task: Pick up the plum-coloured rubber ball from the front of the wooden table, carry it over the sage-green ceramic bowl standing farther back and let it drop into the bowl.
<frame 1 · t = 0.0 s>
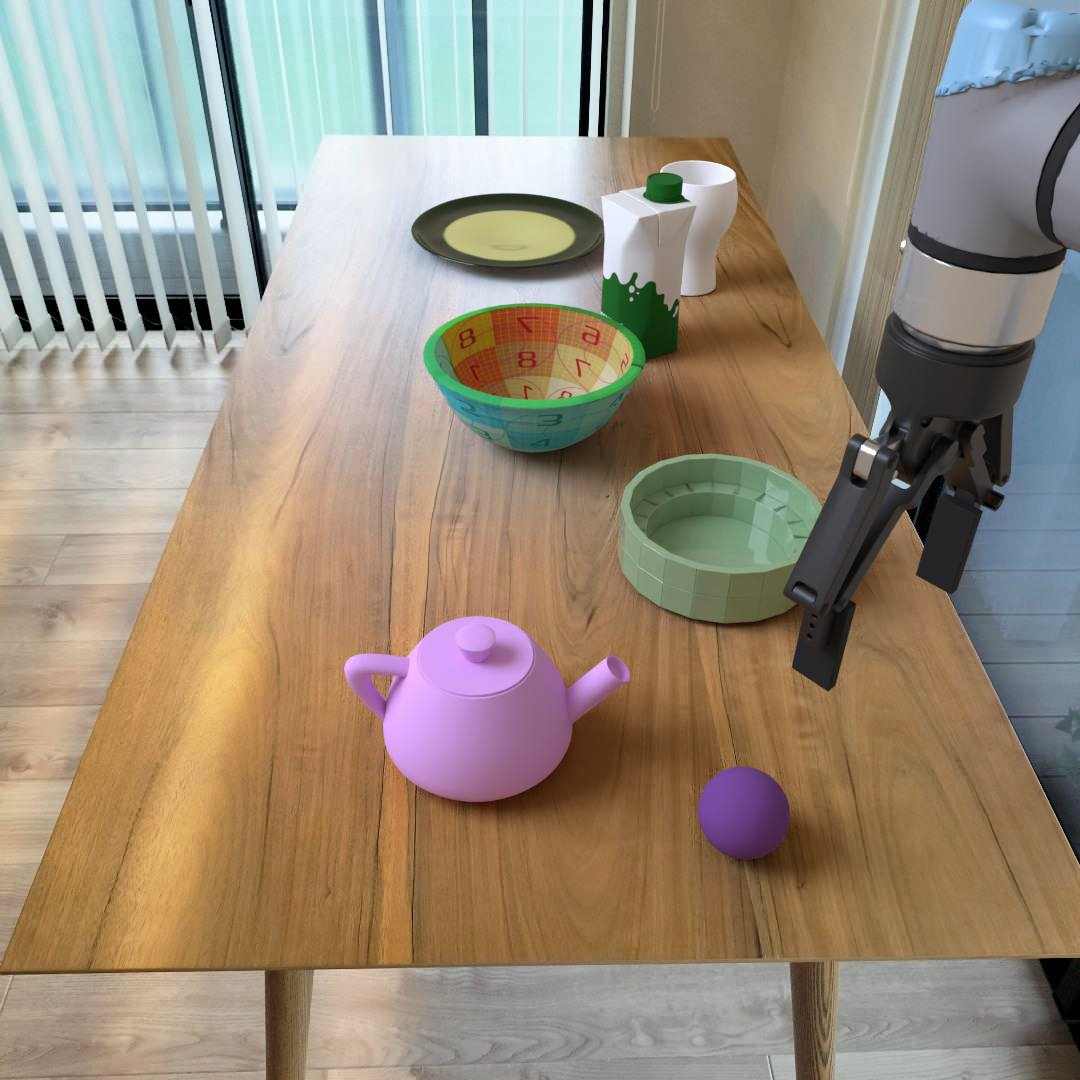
hand: (877, 627, 69), 15 cm above the table, tool pointing down, fingers open, 13 cm apart
plate: (510, 244, 156), on the table
cup: (686, 285, 145), on the table
milk carton: (636, 347, 131), on the table
ball: (738, 840, 73), on the table
teapot: (489, 742, 80), on the table
green bowl: (714, 562, 98), on the table
bowl: (533, 436, 115), on the table
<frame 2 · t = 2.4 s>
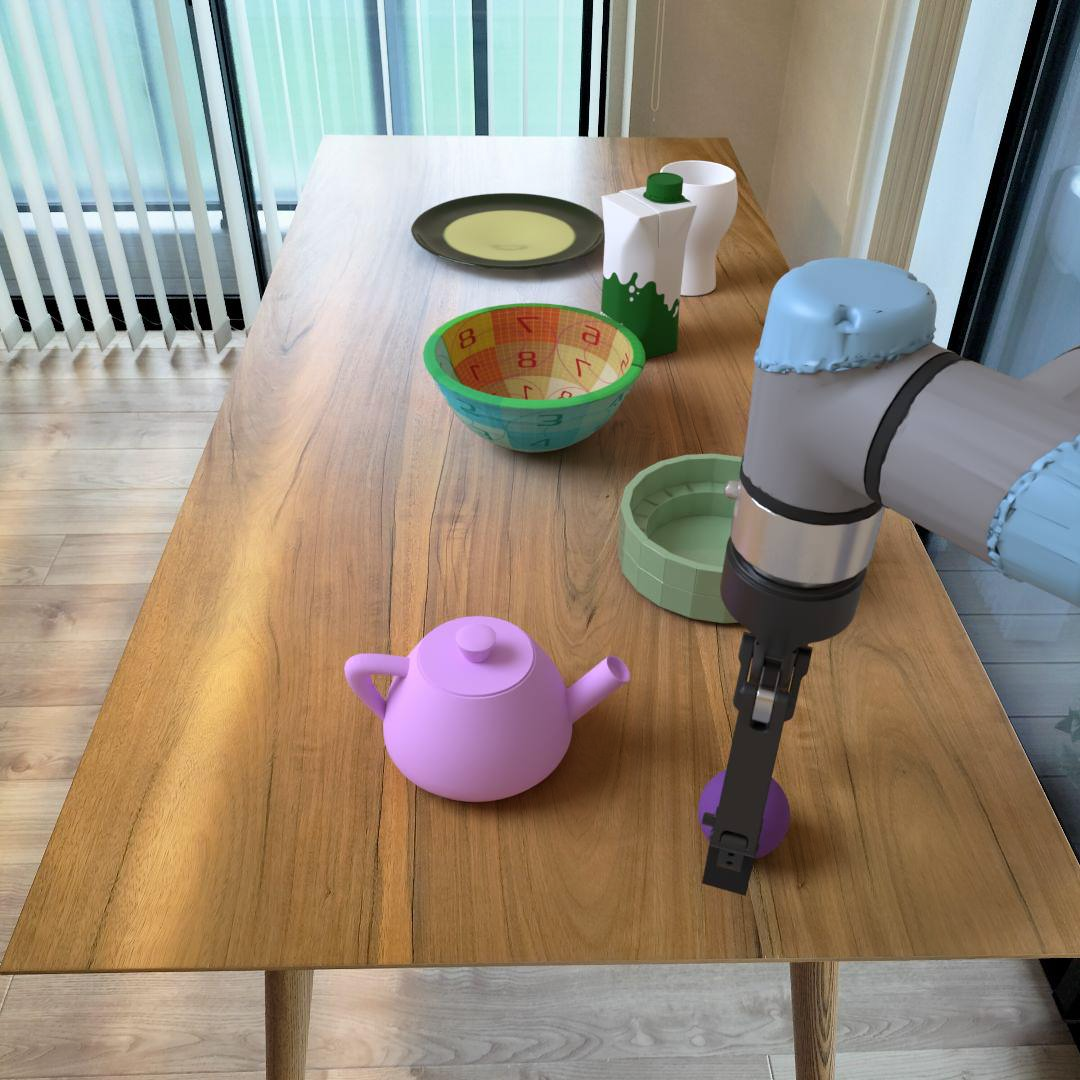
hand: (743, 800, 71), 4 cm above the table, tool pointing down, fingers open, 13 cm apart
nothing on the table moved.
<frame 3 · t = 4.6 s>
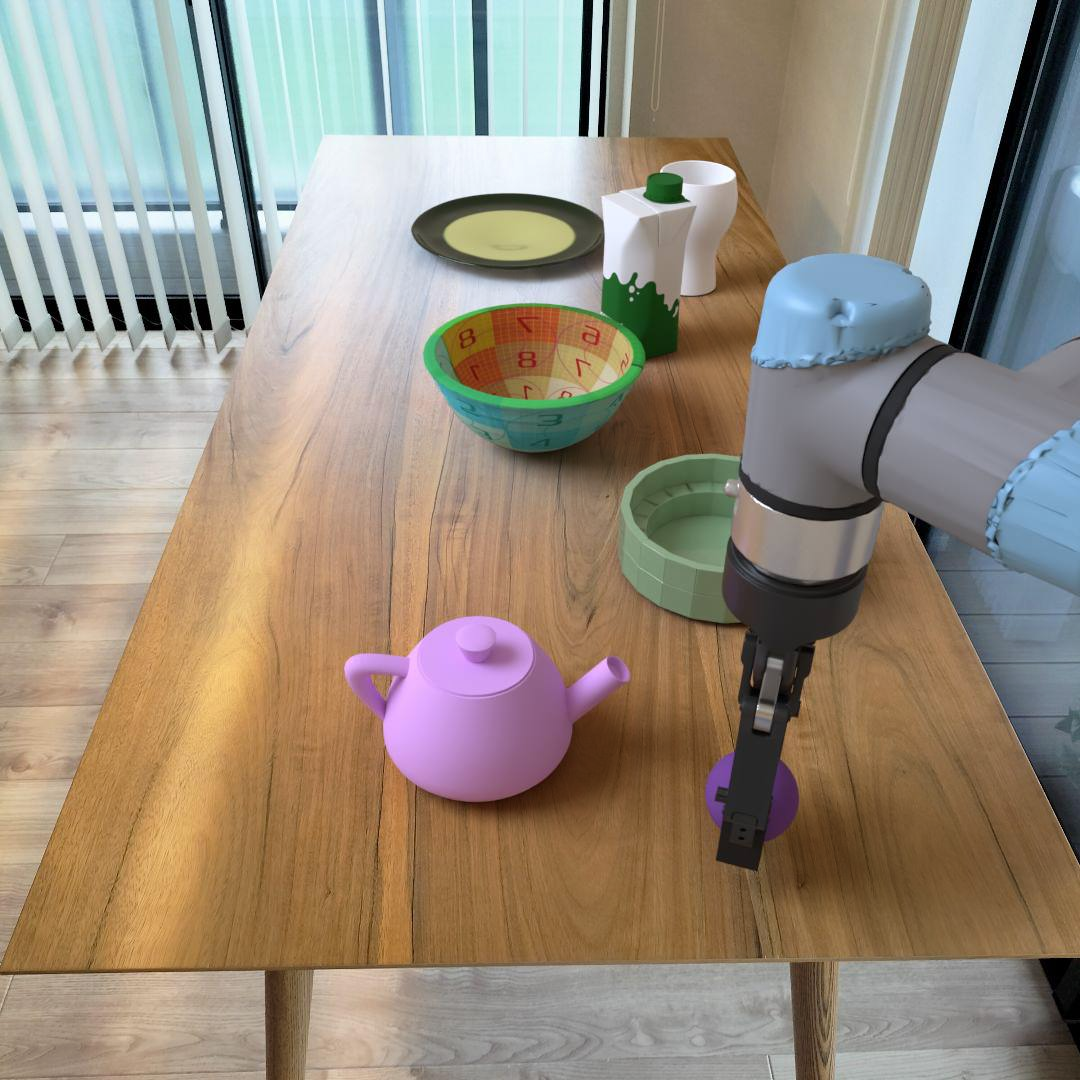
hand: (746, 821, 72), 2 cm above the table, tool pointing down, fingers closed on ball, 6 cm apart
ball: (746, 824, 72), point 2 cm above the table, touching gripper
everything else where it was.
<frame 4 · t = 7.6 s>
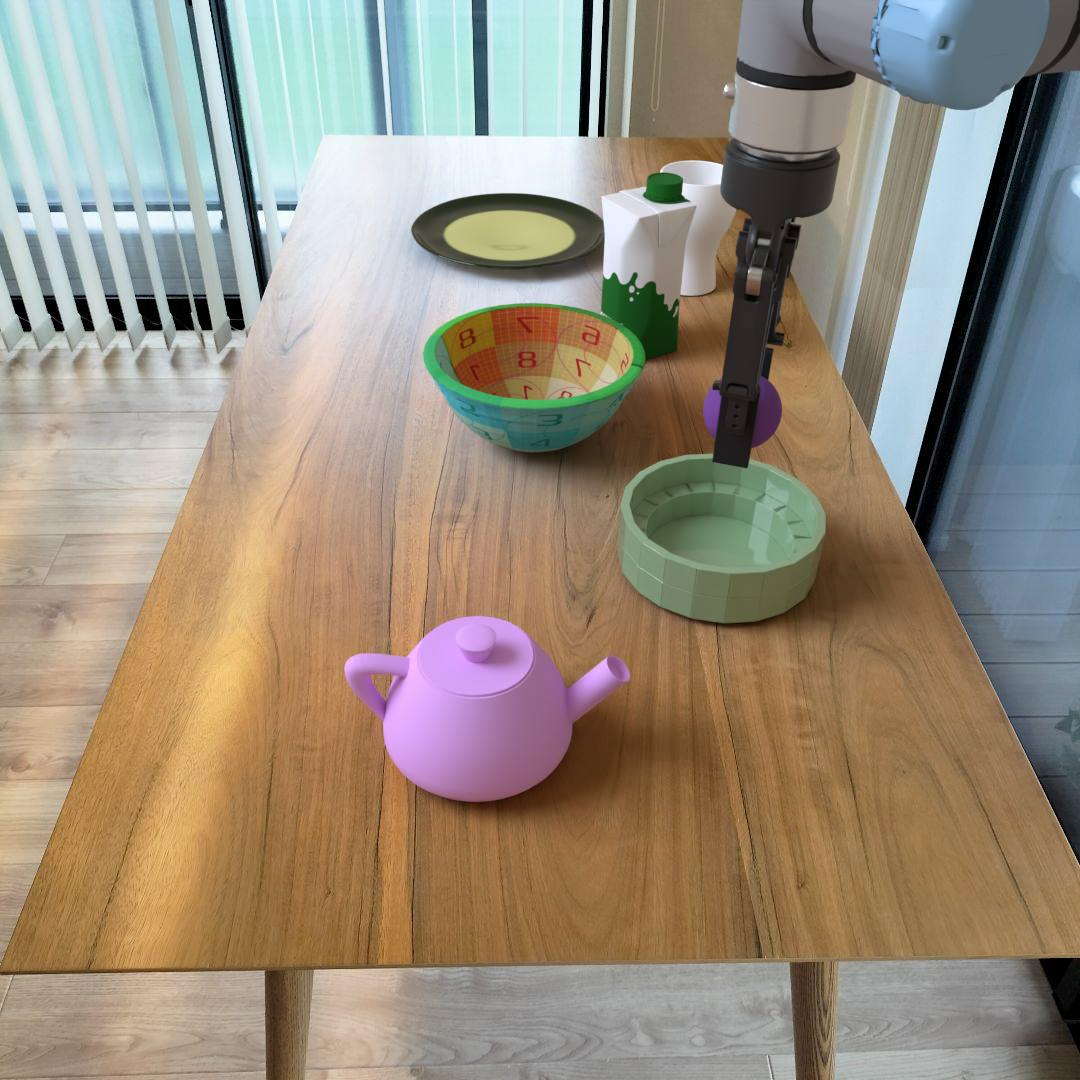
hand: (737, 440, 85), 15 cm above the table, tool pointing down, fingers closed on ball, 6 cm apart
ball: (737, 443, 85), point 15 cm above the table, touching gripper
everything else where it was.
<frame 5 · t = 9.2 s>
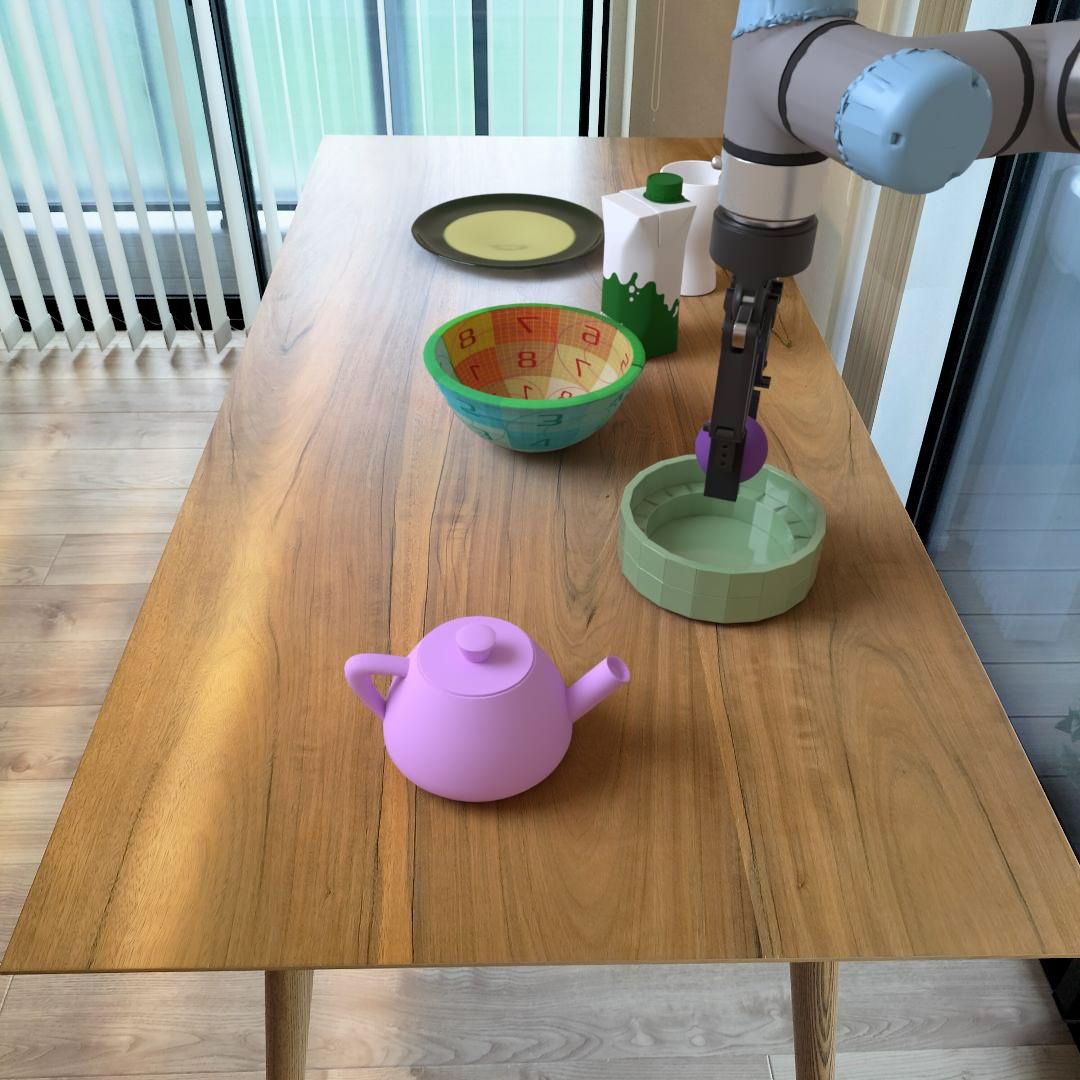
hand: (727, 475, 92), 10 cm above the table, tool pointing down, fingers closed on ball, 6 cm apart
ball: (727, 477, 92), point 9 cm above the table, touching gripper
everything else where it was.
when the fingers open (6 cm above the table, at t = 10.6 s): ball drops 5 cm, resting on green bowl.
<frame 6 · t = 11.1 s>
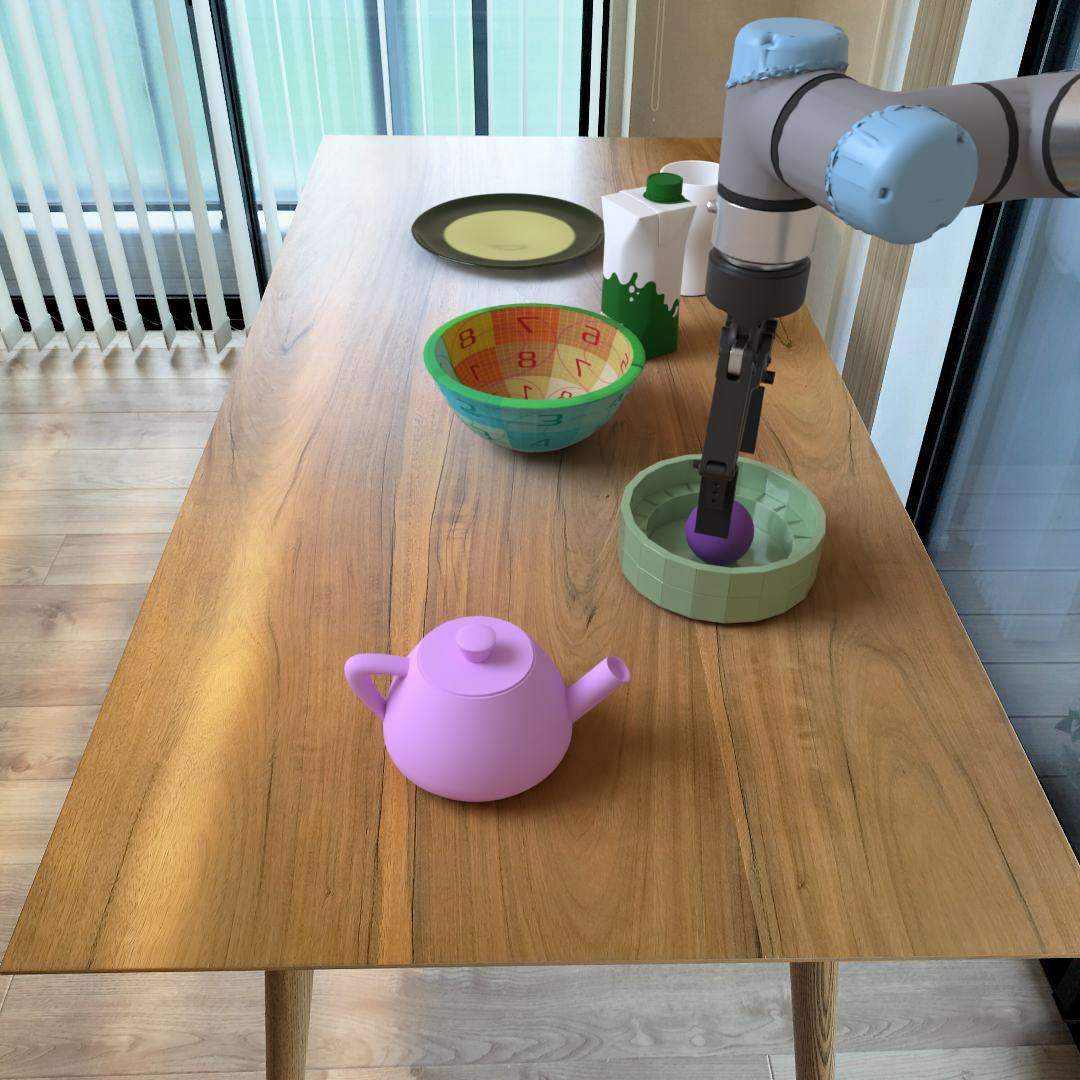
hand: (726, 489, 93), 8 cm above the table, tool pointing down, fingers open, 13 cm apart
ball: (715, 557, 97), point 1 cm above the table, touching green bowl
everything else where it was.
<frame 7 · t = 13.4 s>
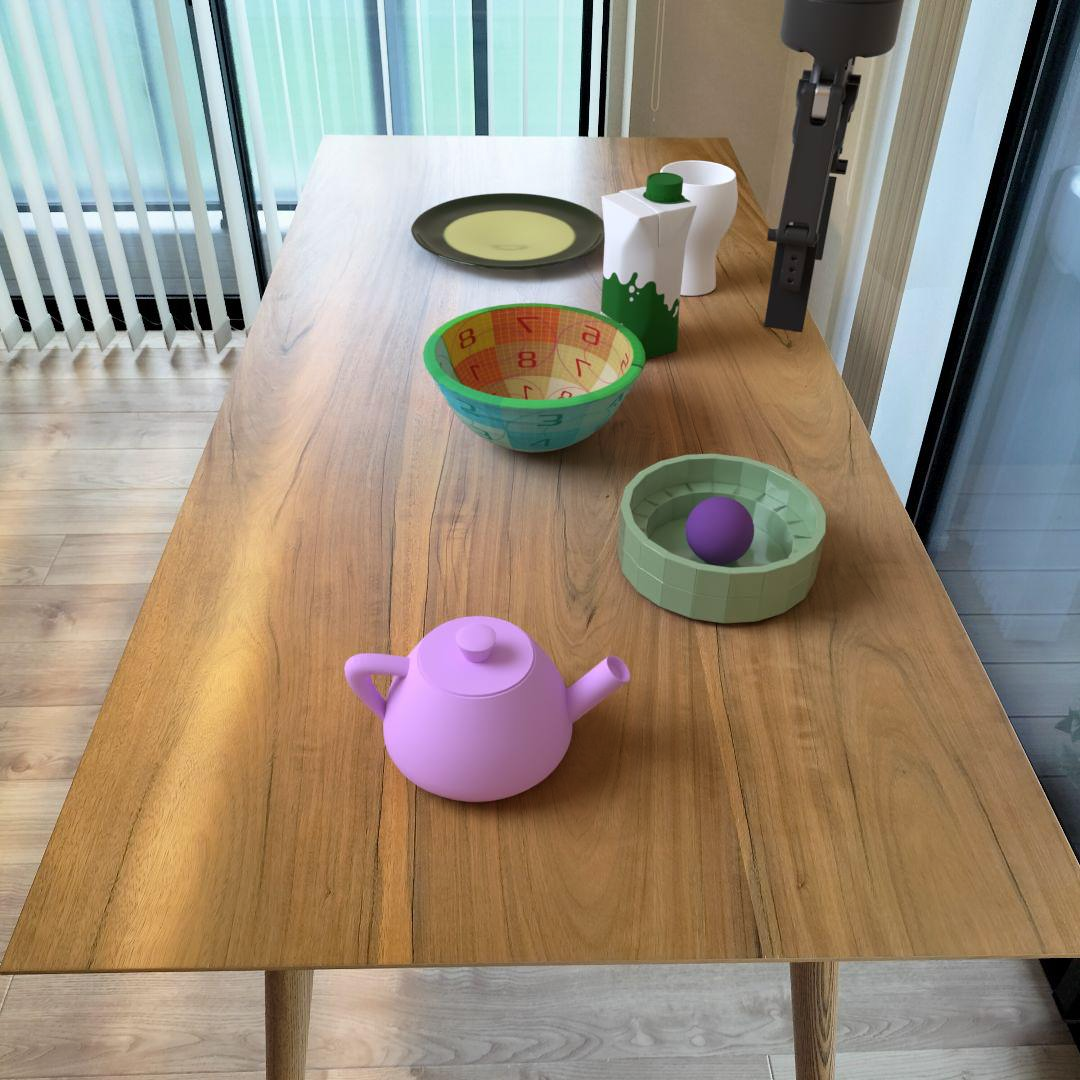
hand: (794, 290, 82), 26 cm above the table, tool pointing down, fingers open, 13 cm apart
nothing on the table moved.
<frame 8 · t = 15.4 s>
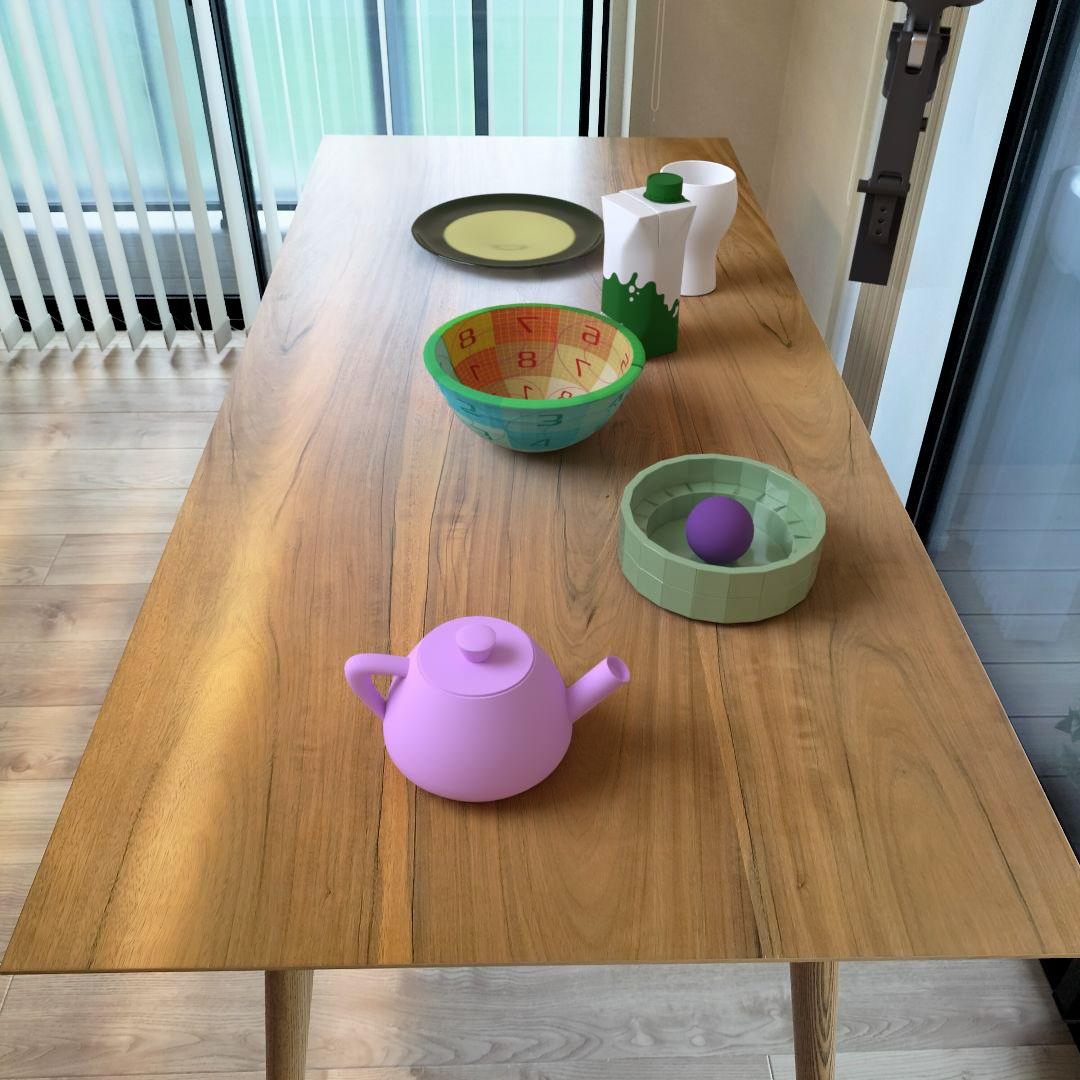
hand: (874, 246, 83), 29 cm above the table, tool pointing down, fingers open, 13 cm apart
nothing on the table moved.
at the end: ball inside the target area in the green bowl (0.0 cm from its centre), point 0.6 cm above the green bowl's base; the gripper is holding nothing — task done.
